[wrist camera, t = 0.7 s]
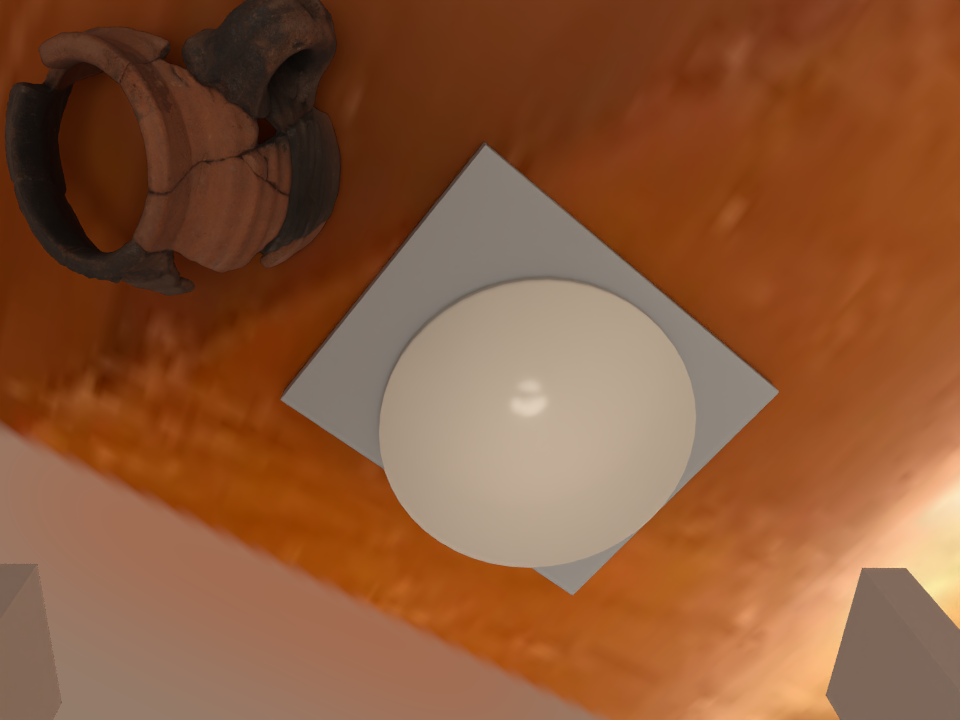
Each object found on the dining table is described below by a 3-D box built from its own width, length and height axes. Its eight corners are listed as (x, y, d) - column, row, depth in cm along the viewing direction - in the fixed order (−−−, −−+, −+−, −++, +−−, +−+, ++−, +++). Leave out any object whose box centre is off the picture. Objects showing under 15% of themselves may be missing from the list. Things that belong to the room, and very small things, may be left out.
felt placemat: (283, 391, 35) (280, 399, 34) (484, 141, 31) (485, 145, 31) (569, 584, 39) (572, 595, 38) (772, 384, 36) (779, 392, 35)
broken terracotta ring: (275, 318, 34) (106, 366, 27) (140, 148, 35) (-57, 151, 28) (458, 93, 28) (304, 79, 21) (288, -102, 29) (87, -178, 22)
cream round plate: (316, 450, 35) (314, 459, 34) (519, 208, 32) (521, 213, 31) (550, 604, 39) (552, 615, 38) (753, 402, 35) (760, 410, 34)
